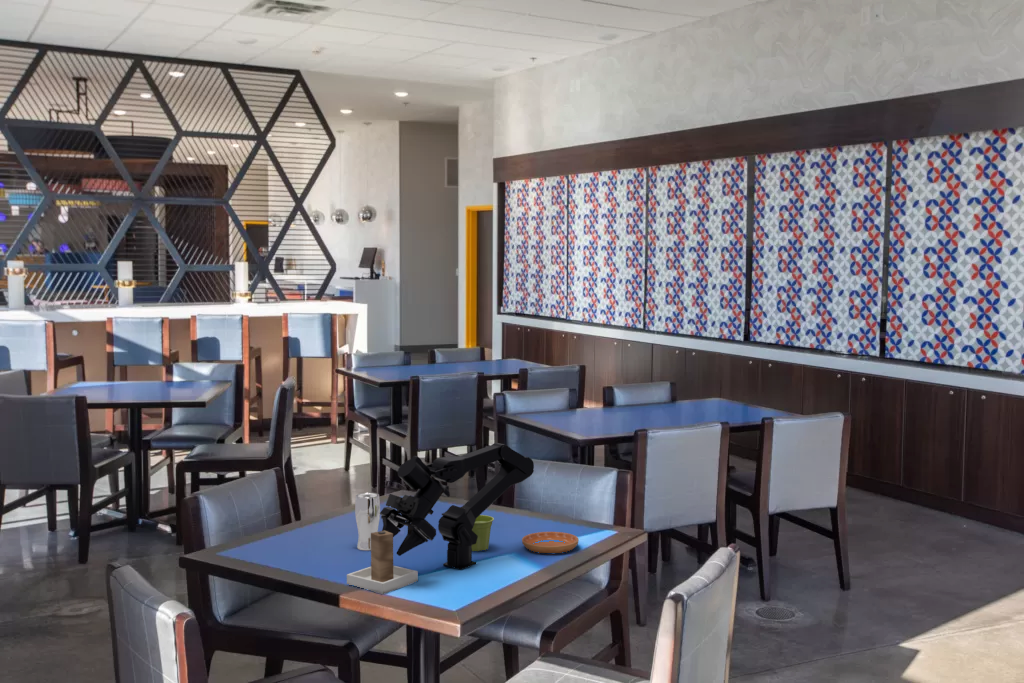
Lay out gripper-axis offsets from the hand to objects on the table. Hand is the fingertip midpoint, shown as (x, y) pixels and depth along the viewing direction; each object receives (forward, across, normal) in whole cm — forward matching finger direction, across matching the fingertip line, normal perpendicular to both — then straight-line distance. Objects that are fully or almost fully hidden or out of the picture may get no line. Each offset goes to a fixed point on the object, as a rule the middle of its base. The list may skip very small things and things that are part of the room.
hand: (388, 550), depth 239 cm
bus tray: (+7, 0, +4) cm, 8 cm away
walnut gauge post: (+6, 0, +4) cm, 7 cm away
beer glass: (-2, -31, +14) cm, 34 cm away
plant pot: (-18, -10, +31) cm, 37 cm away
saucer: (-30, +2, +43) cm, 52 cm away
